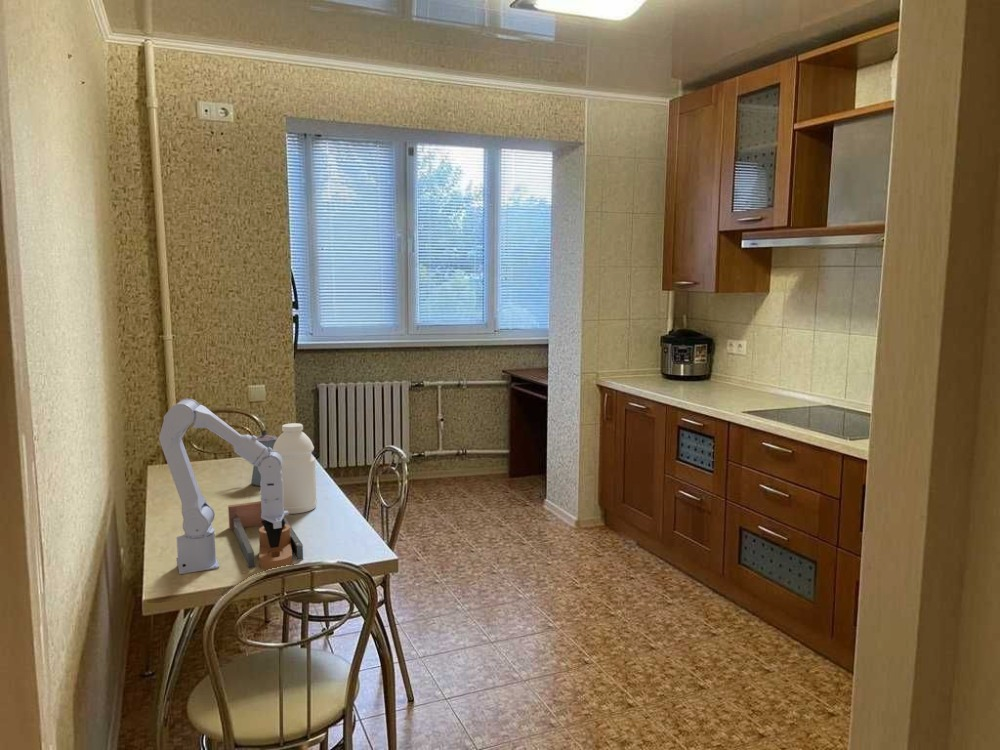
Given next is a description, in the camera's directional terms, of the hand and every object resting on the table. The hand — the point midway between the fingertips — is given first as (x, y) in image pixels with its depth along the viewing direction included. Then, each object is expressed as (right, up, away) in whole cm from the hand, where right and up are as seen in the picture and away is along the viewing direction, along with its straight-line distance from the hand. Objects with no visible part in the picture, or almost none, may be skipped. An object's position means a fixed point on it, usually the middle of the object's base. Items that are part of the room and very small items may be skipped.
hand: (274, 546), depth 197 cm
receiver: (-7, -2, +14) cm, 15 cm away
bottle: (-7, +2, +46) cm, 47 cm away
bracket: (0, -4, +3) cm, 5 cm away
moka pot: (-28, +5, +76) cm, 81 cm away
